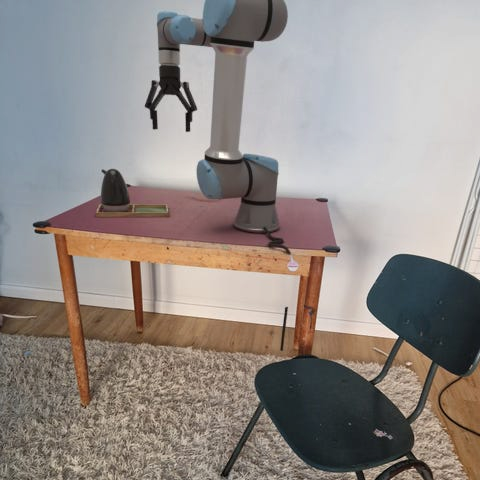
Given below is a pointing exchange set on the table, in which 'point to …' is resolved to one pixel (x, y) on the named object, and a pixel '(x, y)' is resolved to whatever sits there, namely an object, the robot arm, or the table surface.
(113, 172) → the pump dispenser
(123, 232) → the table surface
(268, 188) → the robot arm
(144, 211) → the divided wooden tray
